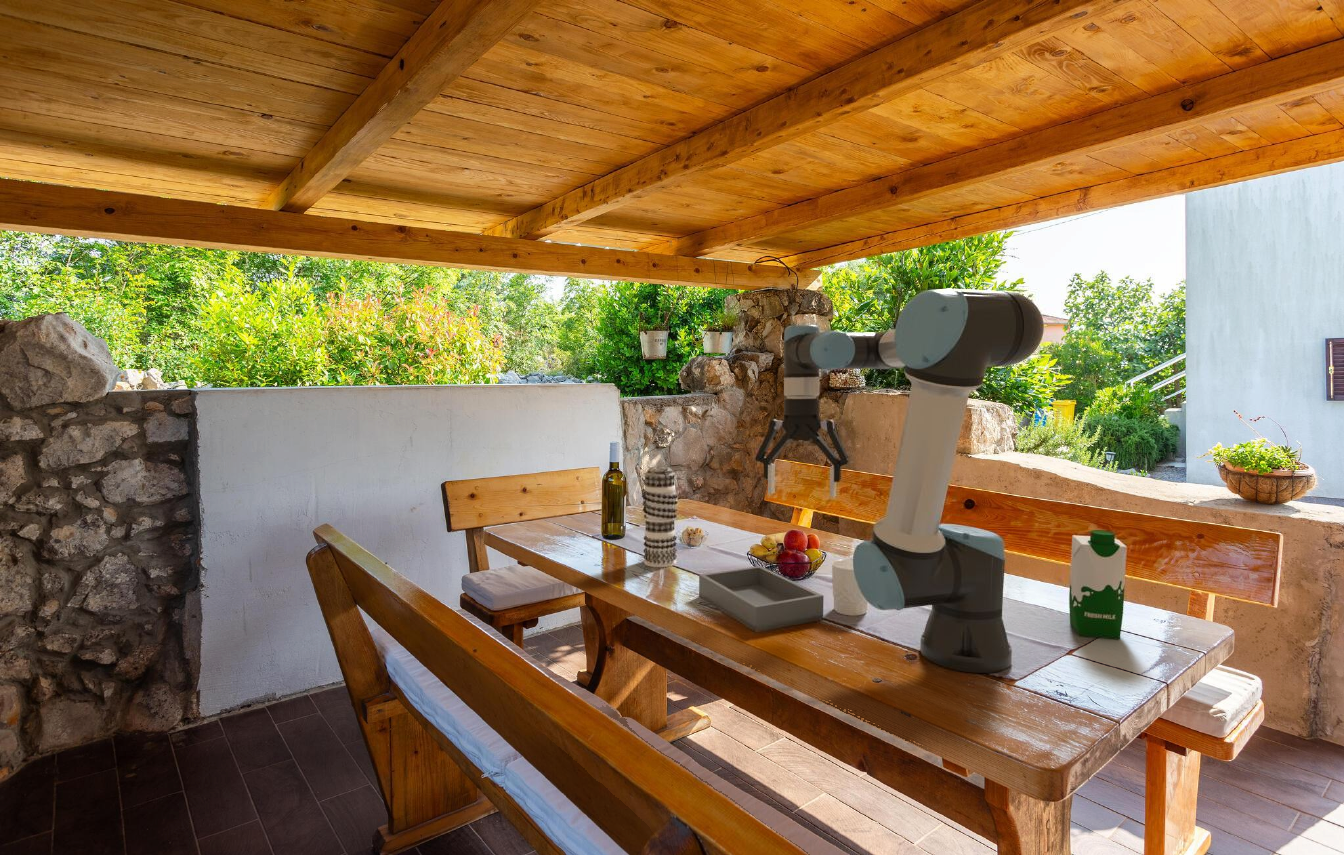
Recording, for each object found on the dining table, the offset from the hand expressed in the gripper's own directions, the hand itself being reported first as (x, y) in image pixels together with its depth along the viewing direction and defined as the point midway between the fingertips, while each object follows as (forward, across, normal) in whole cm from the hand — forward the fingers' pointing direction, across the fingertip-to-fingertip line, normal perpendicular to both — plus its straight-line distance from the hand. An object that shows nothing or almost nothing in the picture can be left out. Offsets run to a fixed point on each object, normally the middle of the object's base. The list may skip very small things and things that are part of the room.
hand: (801, 495), depth 160 cm
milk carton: (+24, -56, -5) cm, 62 cm away
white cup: (+24, -11, +2) cm, 26 cm away
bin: (+23, +7, +8) cm, 26 cm away
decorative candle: (+22, +41, -15) cm, 49 cm away
